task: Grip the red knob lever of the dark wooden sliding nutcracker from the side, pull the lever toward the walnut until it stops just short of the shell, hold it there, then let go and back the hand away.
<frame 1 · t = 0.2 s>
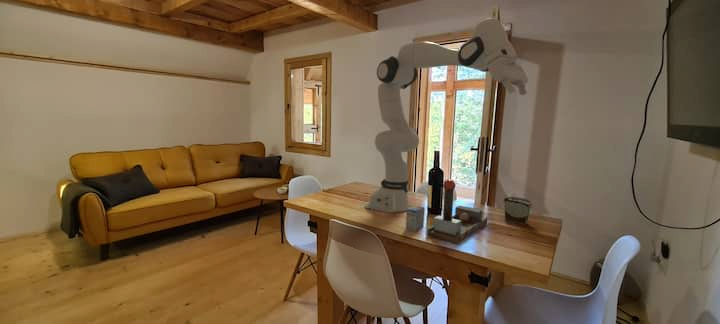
hand: (518, 93, 107), 54 cm above the table, tool tilted 30°, fingers open, 8 cm apart
red knob lever: (448, 206, 117), point 12 cm above the table, slide at 0.0 cm
press base: (458, 229, 126), on the table
food container: (518, 221, 139), on the table
medicine box: (414, 228, 128), on the table
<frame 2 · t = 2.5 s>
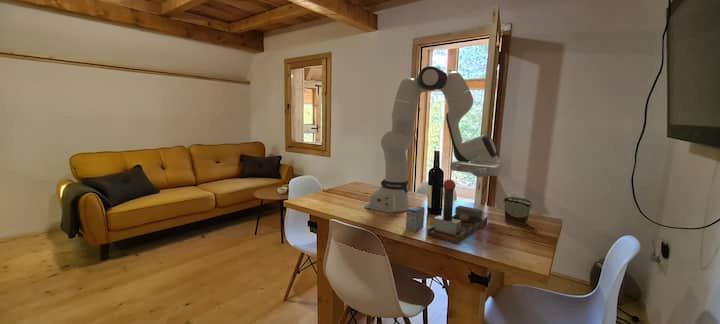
hand: (467, 170, 127), 24 cm above the table, tool horizontal, fingers open, 8 cm apart
nothing on the table moved.
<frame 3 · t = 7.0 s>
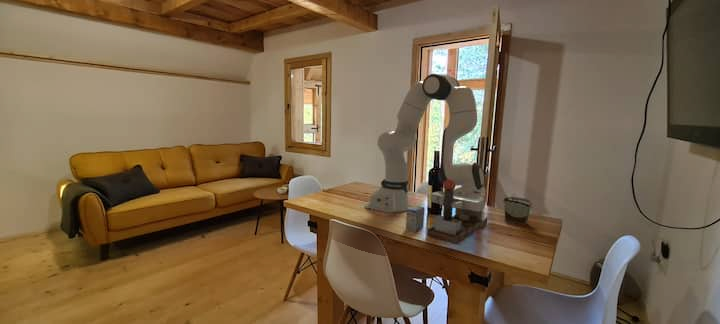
hand: (447, 204, 116), 13 cm above the table, tool horizontal, fingers closed on red knob lever, 3 cm apart
red knob lever: (448, 206, 117), point 12 cm above the table, slide at 0.0 cm, touching gripper
everything else where it was.
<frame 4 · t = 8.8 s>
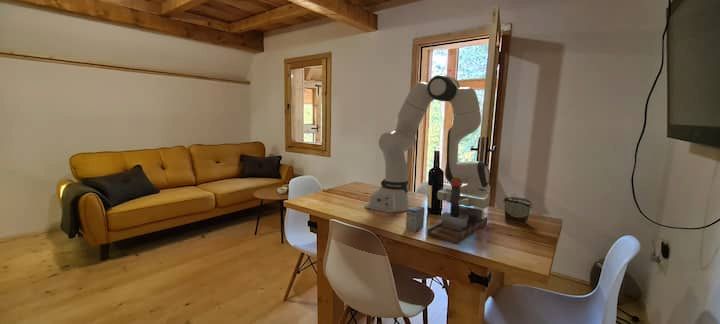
hand: (454, 201, 120), 13 cm above the table, tool horizontal, fingers closed on red knob lever, 3 cm apart
red knob lever: (455, 202, 121), point 12 cm above the table, slide at 6.0 cm, touching gripper
everything else where it was.
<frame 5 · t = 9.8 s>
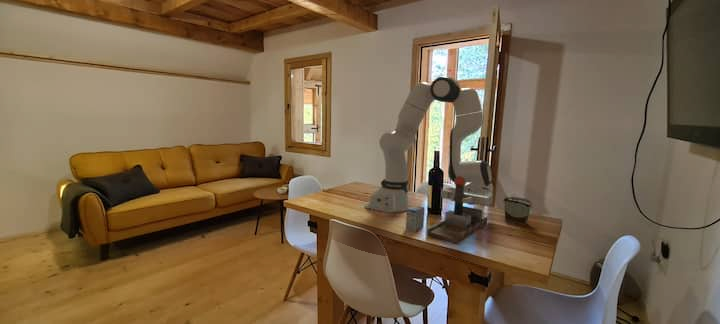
hand: (458, 199, 123), 13 cm above the table, tool horizontal, fingers closed on red knob lever, 3 cm apart
red knob lever: (458, 201, 124), point 12 cm above the table, slide at 9.4 cm, touching gripper
everything else where it was.
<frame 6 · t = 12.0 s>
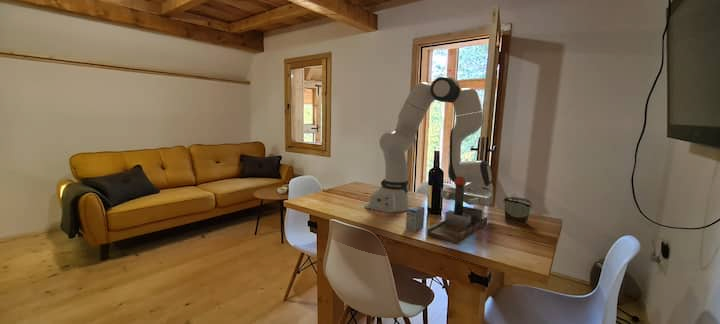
hand: (458, 199, 123), 13 cm above the table, tool horizontal, fingers open, 8 cm apart
red knob lever: (458, 201, 124), point 12 cm above the table, slide at 9.5 cm
everything else where it was.
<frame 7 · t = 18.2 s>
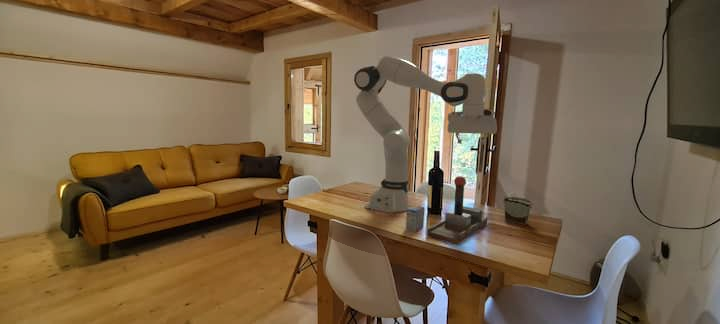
hand: (470, 143, 136), 34 cm above the table, tool pointing down, fingers open, 8 cm apart
nothing on the table moved.
at the end: red knob lever slide at 9.5 cm; the gripper is holding nothing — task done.
